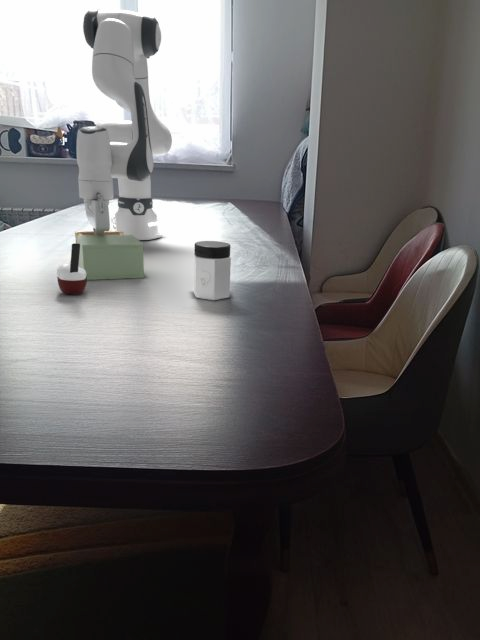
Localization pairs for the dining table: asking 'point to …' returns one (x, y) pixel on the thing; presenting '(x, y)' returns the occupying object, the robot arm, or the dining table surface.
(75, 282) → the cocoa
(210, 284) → the jar
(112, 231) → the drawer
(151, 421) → the dining table surface
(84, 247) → the pale green box
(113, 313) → the dining table surface
